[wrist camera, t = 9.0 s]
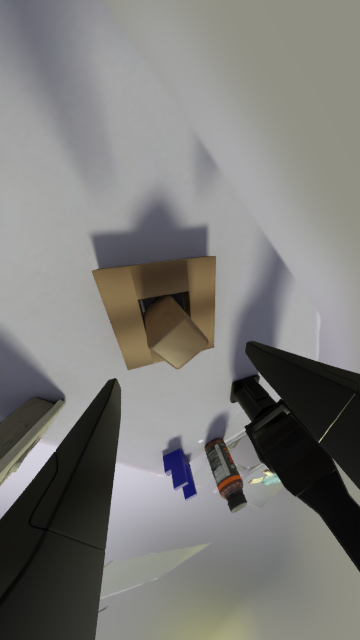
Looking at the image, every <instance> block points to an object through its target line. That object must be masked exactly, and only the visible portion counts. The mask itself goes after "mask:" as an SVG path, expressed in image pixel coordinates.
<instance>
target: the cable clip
mask: <svg viewBox="0 0 360 640" xmlns="http://www.w3.org/2000/svg"><path fill="white" fill-rule="evenodd" d="M163 461H164V469H165V473H166V474H167V475H168V476H169V475H171V474H172V479H173V486H174V489H175V490H178V489H179V488H181V487H182V488H183V492H184V497H185V500H186V501H187V500H189V499H191V498H193V497H195V496H196V495H197V492H196V488H195V484H194V480H193V476H192V472H191V468H190V464H189V463H188V461H187V459H186V458H185V456H184V455H183V453H182V451H181V450H180V449H178V450H176V451H174V452H172V453H170V454H168V455H166V456H164V457H163Z"/></svg>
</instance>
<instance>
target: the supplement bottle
mask: <svg viewBox="0 0 360 640" xmlns="http://www.w3.org/2000/svg"><path fill="white" fill-rule="evenodd" d="M205 451H206V455H207V458H208V461H209V464H210V467H211V470H212V473H213V475H214V478H215V481H216V484H217V487H218V490H219V493H220V495H221V497H223V498H224V499H226V500H227V501H228V506H229V508H230V511H231V512H232V513H234V512H237V511H239V510H241V509H242V508H243V507H245V506H246V505H247V501H246V498H245V496H244V494H243V490H242V488H243V482H242V479H241V477H240V475H239V473H238V471H237V468H236V466H235V464H234V462H233V460H232V458H231V455H230V453H229V451H228V449H227V447H226V444H225V443H224V441H223V440H222V439H216V440H213V441H211V442H210V443H209V444H207V446H206V448H205Z"/></svg>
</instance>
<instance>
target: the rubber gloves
mask: <svg viewBox="0 0 360 640" xmlns="http://www.w3.org/2000/svg"><path fill="white" fill-rule="evenodd" d="M263 473H265V474H267V475H268V476H267V477H266V478H265V479H264V480H263V481H262V483H263V484H265V485H267V486H268V485H270V484H274V483H276V482H281V481H280V479H279V478H278V476H277V475H276V473H272V472H271V471H269V470H265V471H264V472H263ZM262 478H263V477H261V478H258V479H253V480H252V481H250V482H249V483H258V482H260V481H261V480H262Z"/></svg>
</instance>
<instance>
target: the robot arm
mask: <svg viewBox="0 0 360 640" xmlns="http://www.w3.org/2000/svg"><path fill="white" fill-rule="evenodd" d="M245 352H246V355H247V356H248V357H249V359H250V360H251V362H252V363H253V364H254V366H255V367H256V369H257V370H258V371H259V373H260V374H261V375H262V376H263V377H264V379H265V380H266V381H267V382H268V383H269V384H270V386H271V387H272V388H273V389H274V390H275V391H276V393H277V394H278V395H279V396H280V397H281V398H282V399H280V400H279V401H278V402H277V403H276V402H275V401H274V400H273V399H272V398H271V396H270V395H269V394H268V392H267V391H266V390H265V389H264V388H263V387H262V386H261V385H260V384H259V379H260V376H259V375H255V376H252V377H249V378H246V379H243V380H240V381H237V382H234V383H233V384H232V393H231V403H235V402H238V403H239V404H240V406H241V407H242V408H243V410H244V411H245V413H246V414H247V416H248V417H249V419H250V420H251V423H250V424H248V425H246V426H245V429H246V431H245V432H246V433H247V435H248V436H249V438H250V440H251V442H252V444H253V446H254V448H255V451H256V453H257V455H258V458H259V460H260V461H261V463H263V464H265V465H266V466H267V467H268V468H269V469H270V471H271V472H272V473H276V475H277V476H278V478H279V479H280V481H281V482H282V484H283V485H284V487H285V488H286V489H287V490H288V491H289V492H291V493H292V494H293V495H294V496H297V497H298V498H299V499H300V500H302V501H303V502H304V503H305V504H307V505H308V506H309V507H310V508H312V509H313V510H314V511H315V512H317V513H318V514H319V515H320V516H321V517H322V519H323V520H324V522H325V523H326V525H327V526H328V528H329V529H330V530H331V532H332V533H333V535H334V536H335V537H336V539H337V540H338V542H339V543H340V545H341V546H342V547H343V549H344V550H345V552H346V553H347V555H348V556H349V557H350V559H351V560H352V562H353V563H354V564H355V566H356V567H357V569H358V570H359V572H360V506H359V505H358V504H357V502H355V500H354V499H353V498H352V497H351V496H350V494H349V493H348V491H347V488H346V486H345V484H344V482H343V480H342V478H341V476H340V473H339V471H338V469H337V467H336V465H335V463H334V461H333V459H334V460H335V461H336V463H337V464H338V465H339V466H340V467H341V468H342V470H343V471H344V472H345V473H346V474H347V475H348V477H349V478H350V479H351V480H352V481H353V482H354V484H355V485H356V486H357V487H358V488H359V489H360V374H358V373H354V372H351V371H347V370H344V369H340V368H337V367H334V366H330V365H327V364H324V363H321V362H318V361H314V360H311V359H308V358H305V357H302V356H299V355H296V354H292V353H289V352H286V351H283V350H280V349H277V348H274V347H271V346H267V345H264V344H261V343H258V342H255V341H249V342H247V343H246V349H245ZM287 412H289V414H288V415H287V414H286V413H287ZM120 420H121V387H120V385H119V383H118V380H117V379H116V378H114V379H110V380H108V381H107V383H106V384H105V385H104V387H103V388H102V389H101V391H100V392H99V393H98V395H97V396H96V397H95V399H94V400H93V401H92V403H91V404H90V405H89V407H88V408H87V409H86V411H85V412H84V413H83V415H82V416H81V417H80V419H79V420H78V421H77V422H76V424H75V425H74V426H73V428H72V429H71V430H70V432H69V433H68V434H67V436H66V437H65V438H64V440H63V441H62V442H61V444H60V445H59V446H58V448H57V449H56V452H54V453H53V454H52V456H51V457H50V458H49V460H48V461H47V462H46V463H45V465H44V466H43V467H42V469H41V470H40V471H39V472H38V474H37V475H36V476H35V478H34V479H33V480H32V482H31V483H30V484H29V485H28V486H27V488H26V489H25V490H24V491H23V493H22V494H21V495H20V496H19V498H18V499H17V500H16V501H15V502H14V504H13V505H12V506H11V507H10V508H9V510H8V511H7V512H6V513H5V515H4V516H3V517H2V518H1V519H0V640H95V635H96V627H97V618H98V609H99V601H100V592H101V584H102V575H103V567H104V558H105V548H106V540H107V531H108V523H109V515H110V506H111V497H112V489H113V480H114V472H115V463H116V455H117V446H118V438H119V429H120ZM332 458H333V459H332Z"/></svg>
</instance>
